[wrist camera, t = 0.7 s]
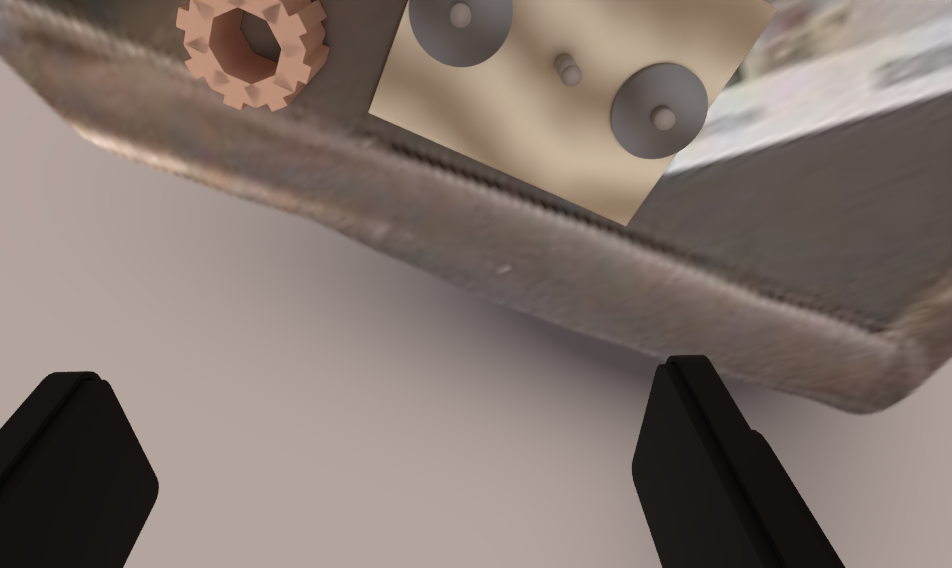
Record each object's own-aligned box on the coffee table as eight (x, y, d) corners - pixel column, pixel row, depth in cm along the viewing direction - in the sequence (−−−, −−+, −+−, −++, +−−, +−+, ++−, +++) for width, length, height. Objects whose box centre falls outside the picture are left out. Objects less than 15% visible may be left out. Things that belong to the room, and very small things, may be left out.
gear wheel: (224, -60, 31) (187, -55, 27) (344, -2, 33) (326, 12, 28) (203, 59, 34) (168, 80, 30) (312, 106, 36) (293, 131, 32)
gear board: (471, -176, 28) (472, -189, 24) (770, 6, 33) (809, 19, 29) (370, 107, 36) (359, 131, 32) (622, 219, 41) (638, 251, 37)
